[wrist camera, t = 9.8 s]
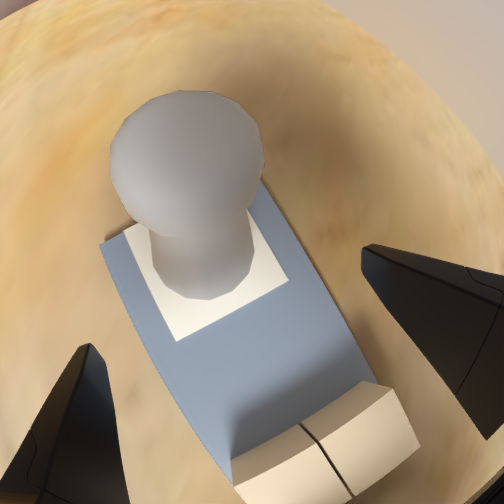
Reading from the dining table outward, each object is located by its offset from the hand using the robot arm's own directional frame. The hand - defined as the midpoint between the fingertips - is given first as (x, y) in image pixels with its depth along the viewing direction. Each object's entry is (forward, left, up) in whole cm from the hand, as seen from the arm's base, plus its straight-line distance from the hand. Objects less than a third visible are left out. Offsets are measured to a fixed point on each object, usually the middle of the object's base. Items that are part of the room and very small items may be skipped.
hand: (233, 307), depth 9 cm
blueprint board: (-3, -1, -11) cm, 12 cm away
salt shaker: (+4, -1, -10) cm, 11 cm away
